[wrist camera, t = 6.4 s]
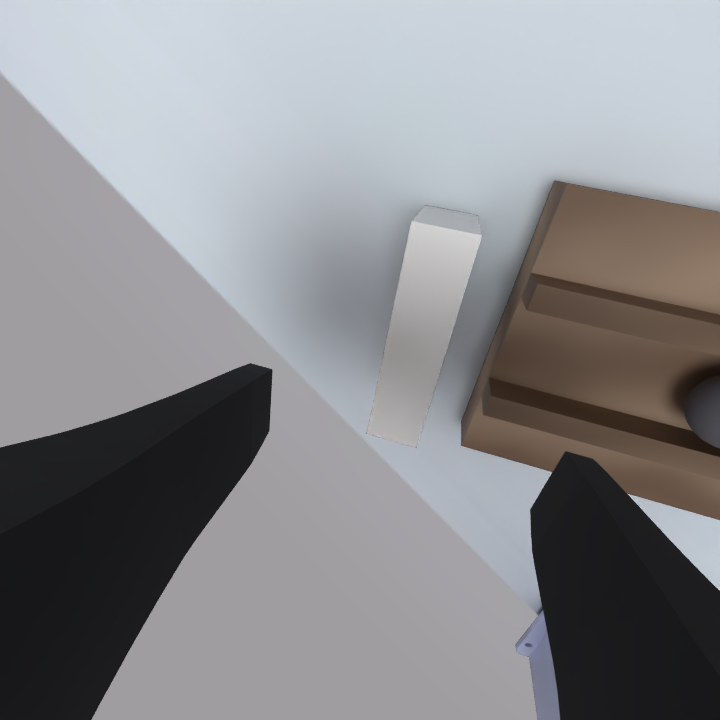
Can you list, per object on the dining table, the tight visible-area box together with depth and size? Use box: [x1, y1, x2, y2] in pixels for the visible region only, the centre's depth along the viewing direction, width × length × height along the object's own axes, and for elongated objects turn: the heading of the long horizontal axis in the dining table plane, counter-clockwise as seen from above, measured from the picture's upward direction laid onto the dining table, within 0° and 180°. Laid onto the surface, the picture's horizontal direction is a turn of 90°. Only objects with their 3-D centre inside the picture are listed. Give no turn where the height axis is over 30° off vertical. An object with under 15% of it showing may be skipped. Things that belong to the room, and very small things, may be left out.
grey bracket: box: [366, 205, 482, 448], centre depth 16 cm, size 9×2×5 cm, turn 171°
